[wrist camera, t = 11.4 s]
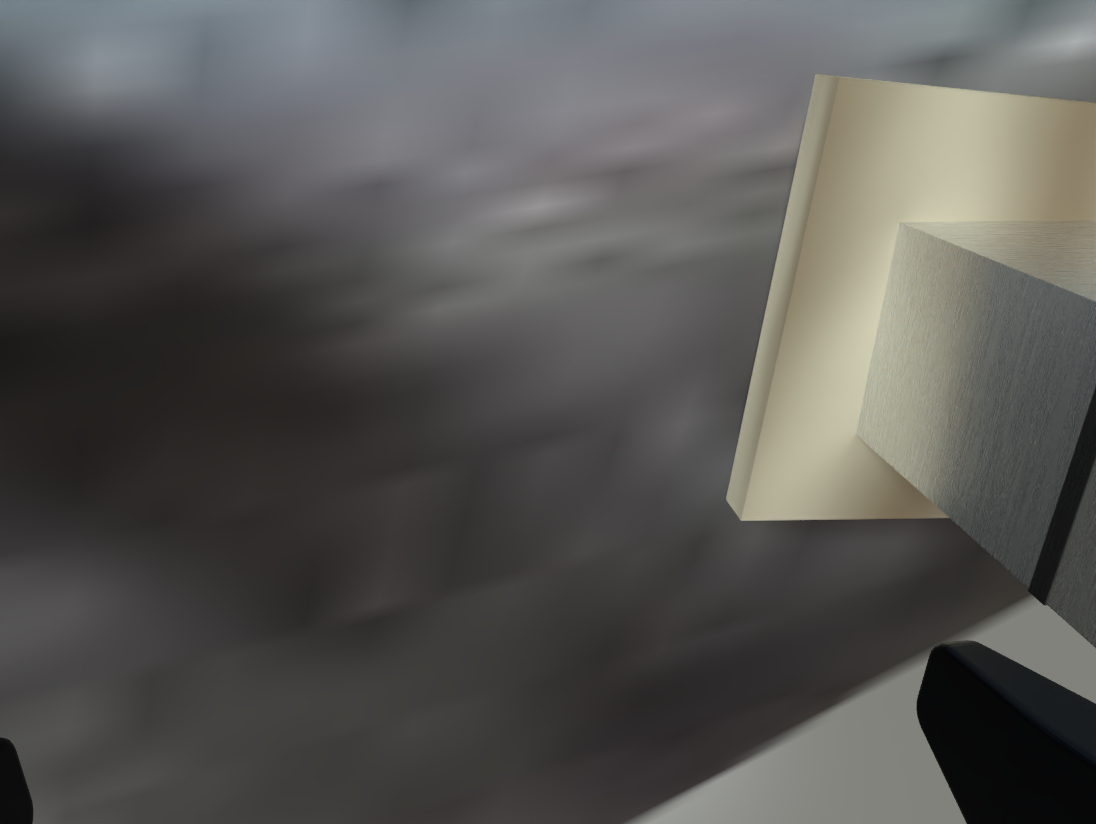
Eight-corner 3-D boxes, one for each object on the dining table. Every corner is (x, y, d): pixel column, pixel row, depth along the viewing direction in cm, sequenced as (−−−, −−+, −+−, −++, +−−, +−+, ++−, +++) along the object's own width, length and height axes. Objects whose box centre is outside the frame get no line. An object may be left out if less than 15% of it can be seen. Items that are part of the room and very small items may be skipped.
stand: (699, 461, 23) (741, 521, 20) (775, 68, 19) (839, 77, 16) (1017, 462, 25) (1093, 516, 22) (1148, 106, 21) (1260, 120, 18)
